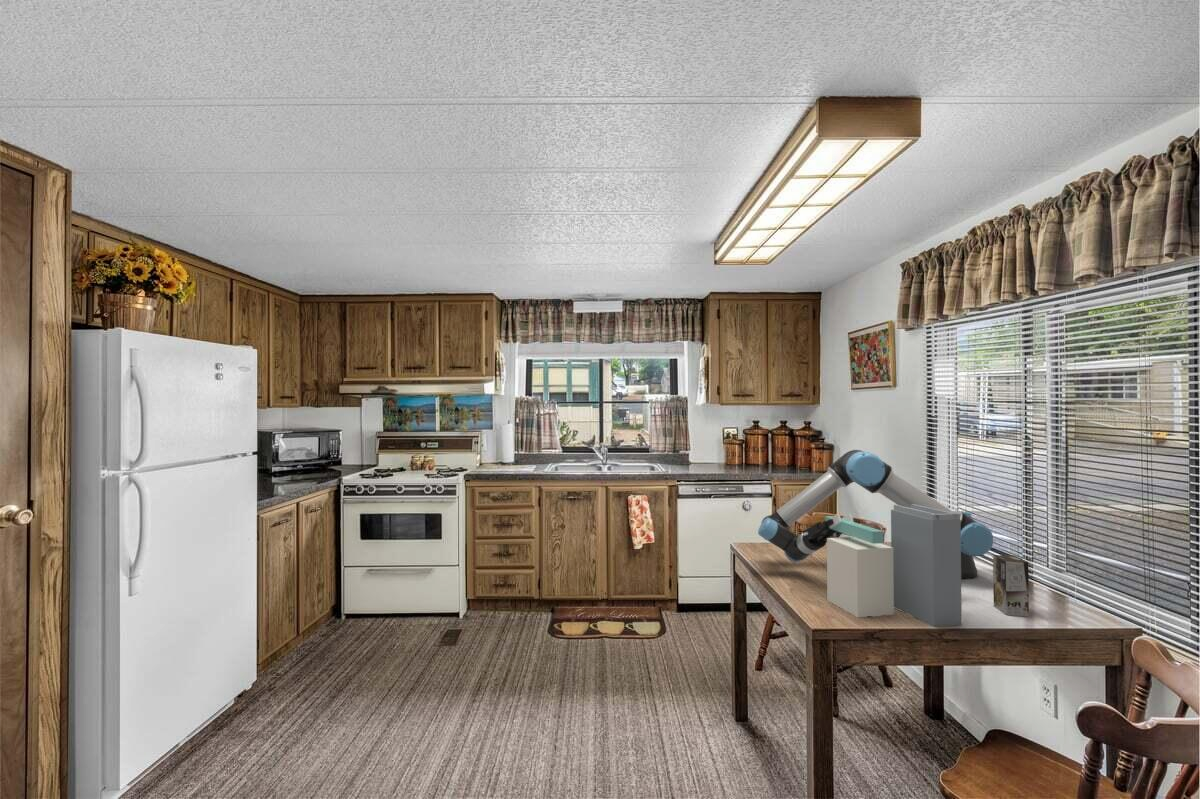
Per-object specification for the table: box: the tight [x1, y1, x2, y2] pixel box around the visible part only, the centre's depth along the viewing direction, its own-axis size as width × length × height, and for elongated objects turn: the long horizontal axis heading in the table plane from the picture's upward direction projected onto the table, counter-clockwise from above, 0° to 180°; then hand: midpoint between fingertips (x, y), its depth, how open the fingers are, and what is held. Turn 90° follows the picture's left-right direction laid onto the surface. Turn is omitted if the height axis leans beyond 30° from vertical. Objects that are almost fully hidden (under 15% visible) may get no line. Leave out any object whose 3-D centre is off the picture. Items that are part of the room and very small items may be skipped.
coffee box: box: [992, 554, 1030, 617], centre depth 185 cm, size 9×6×16 cm
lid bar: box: [824, 515, 884, 544], centre depth 192 cm, size 4×26×4 cm, turn 11°
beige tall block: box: [826, 536, 895, 618], centre depth 189 cm, size 12×16×20 cm
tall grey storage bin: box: [890, 504, 963, 628], centre depth 182 cm, size 9×18×32 cm, turn 11°
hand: (845, 517), depth 196 cm, fingers closed on lid bar, 3 cm apart
